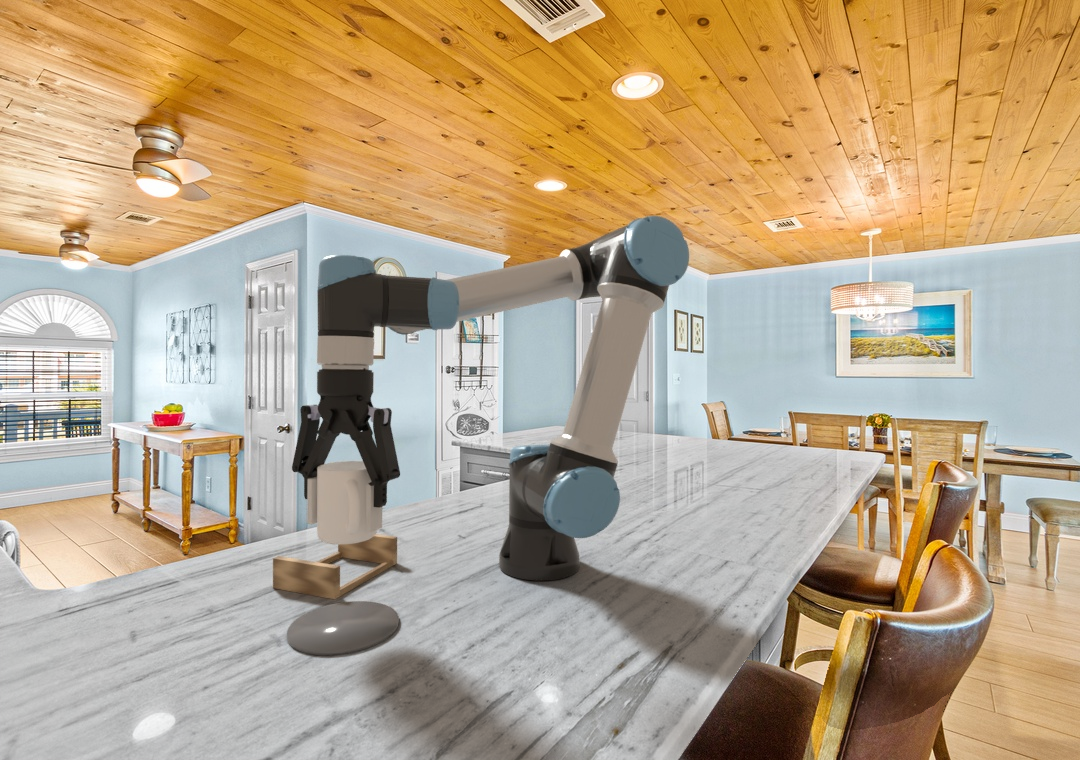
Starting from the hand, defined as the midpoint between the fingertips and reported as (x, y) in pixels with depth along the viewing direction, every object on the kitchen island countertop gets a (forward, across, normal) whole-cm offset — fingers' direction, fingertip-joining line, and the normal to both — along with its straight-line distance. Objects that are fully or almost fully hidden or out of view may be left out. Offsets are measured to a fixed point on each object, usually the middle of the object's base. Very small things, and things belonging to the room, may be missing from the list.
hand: (344, 525), depth 78 cm
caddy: (+15, +14, -16) cm, 26 cm away
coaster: (+15, 0, 0) cm, 15 cm away
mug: (+2, -1, 0) cm, 2 cm away
